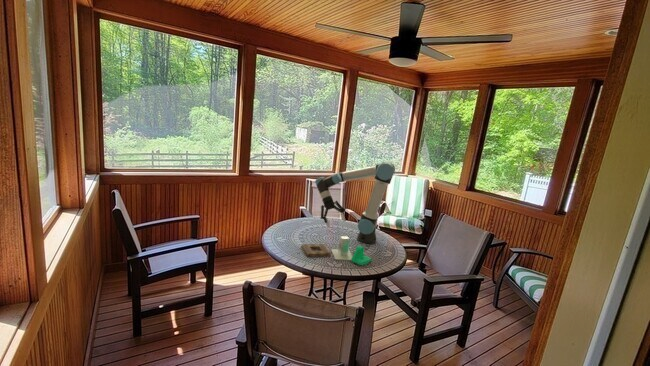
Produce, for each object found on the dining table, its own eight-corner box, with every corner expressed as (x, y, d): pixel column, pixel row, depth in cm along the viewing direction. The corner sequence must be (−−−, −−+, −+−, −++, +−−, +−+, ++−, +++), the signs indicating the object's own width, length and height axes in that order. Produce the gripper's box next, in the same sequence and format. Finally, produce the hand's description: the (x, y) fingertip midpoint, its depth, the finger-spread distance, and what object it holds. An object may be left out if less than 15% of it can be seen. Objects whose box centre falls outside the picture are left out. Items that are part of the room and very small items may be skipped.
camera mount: (360, 266, 190) (362, 251, 188) (351, 262, 195) (353, 247, 193) (371, 262, 199) (373, 247, 197) (362, 257, 204) (364, 243, 202)
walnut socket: (322, 246, 215) (323, 243, 215) (330, 256, 201) (330, 253, 200) (301, 246, 210) (301, 244, 210) (307, 256, 195) (307, 253, 195)
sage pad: (349, 250, 213) (349, 249, 213) (354, 260, 198) (354, 259, 198) (331, 249, 211) (331, 249, 211) (335, 259, 196) (335, 259, 196)
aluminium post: (344, 252, 208) (346, 236, 206) (347, 255, 203) (349, 238, 201) (337, 252, 206) (339, 236, 204) (340, 255, 201) (342, 238, 199)
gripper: (338, 194, 235) (348, 220, 231) (310, 203, 224) (320, 230, 219) (342, 191, 229) (353, 217, 224) (313, 200, 217) (324, 228, 213)
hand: (337, 224), depth 222 cm, fingers open, 13 cm apart
